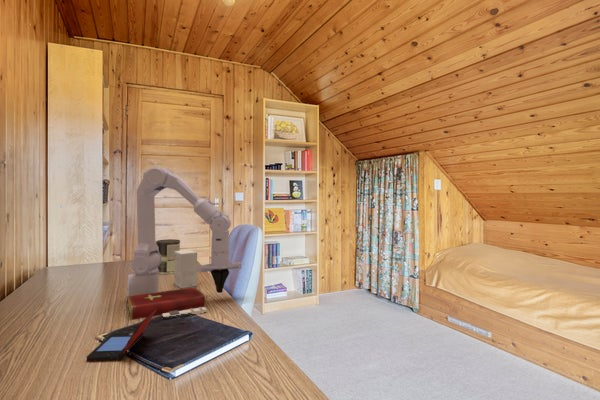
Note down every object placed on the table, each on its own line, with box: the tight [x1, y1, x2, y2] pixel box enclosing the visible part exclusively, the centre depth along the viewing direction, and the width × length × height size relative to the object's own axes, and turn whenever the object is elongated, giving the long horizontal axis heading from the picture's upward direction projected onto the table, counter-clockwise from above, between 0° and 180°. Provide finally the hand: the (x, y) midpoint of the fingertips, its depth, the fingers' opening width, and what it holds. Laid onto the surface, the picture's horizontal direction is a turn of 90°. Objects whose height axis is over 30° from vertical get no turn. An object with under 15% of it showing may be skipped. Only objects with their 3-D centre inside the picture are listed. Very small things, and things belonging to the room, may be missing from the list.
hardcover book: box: [126, 286, 207, 320], centre depth 101 cm, size 12×21×4 cm, turn 122°
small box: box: [173, 249, 198, 289], centre depth 127 cm, size 8×6×13 cm
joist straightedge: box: [161, 307, 208, 317], centre depth 95 cm, size 12×2×1 cm, turn 121°
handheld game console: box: [86, 308, 157, 363], centre depth 74 cm, size 12×11×7 cm
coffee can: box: [155, 238, 181, 275], centre depth 149 cm, size 10×10×14 cm
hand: (219, 291), depth 109 cm, fingers closed
